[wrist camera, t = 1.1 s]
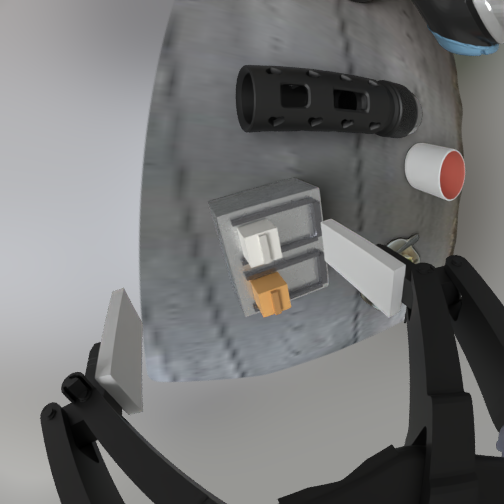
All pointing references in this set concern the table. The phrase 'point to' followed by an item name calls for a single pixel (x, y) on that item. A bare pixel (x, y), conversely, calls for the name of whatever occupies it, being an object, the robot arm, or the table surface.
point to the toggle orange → (271, 294)
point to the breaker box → (289, 231)
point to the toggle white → (260, 242)
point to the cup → (435, 170)
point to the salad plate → (403, 249)
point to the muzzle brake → (323, 102)
